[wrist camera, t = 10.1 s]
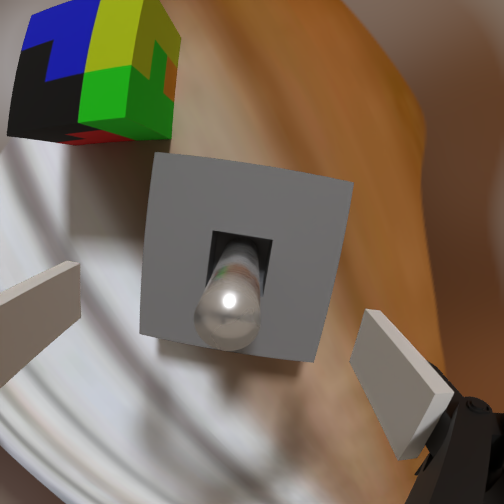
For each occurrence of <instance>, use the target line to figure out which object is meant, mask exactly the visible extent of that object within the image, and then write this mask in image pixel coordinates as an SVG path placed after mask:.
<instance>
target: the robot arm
mask: <svg viewBox="0 0 504 504" xmlns="http://www.w3.org/2000/svg"><path fill="white" fill-rule="evenodd" d="M80 318H81V303H80V263H76V262H71V261H65V262H63V263H61V264H59V265H57V266H55V267H52V268H50V269H48V270H46V271H44V272H42V273H40V274H38V275H35V276H33V277H31V278H29V279H27V280H25V281H23V282H21V283H19V284H17V285H15V286H13V287H11V288H9V289H7V290H5V291H3V292H1V293H0V388H1V387H3V386H4V385H5V384H6V383H7V382H8V381H9V380H10V379H11V378H12V377H13V376H14V375H15V374H17V373H18V372H19V371H20V370H21V369H22V368H23V367H24V366H25V365H27V364H28V363H29V362H30V361H31V360H32V359H33V358H34V357H36V356H37V355H38V354H39V353H40V352H41V351H42V350H43V349H45V348H46V347H47V346H48V345H49V344H50V343H51V342H53V341H54V340H55V339H56V338H57V337H58V336H60V335H61V334H62V333H63V332H64V331H65V330H67V329H68V328H69V327H70V326H71V325H73V324H74V323H75V322H76V321H77V320H79V319H80ZM349 362H350V364H351V366H352V368H353V370H354V372H355V374H356V376H357V378H358V380H359V382H360V384H361V386H362V387H363V389H364V391H365V393H366V395H367V397H368V400H369V402H370V404H371V406H372V408H373V410H374V412H375V414H376V416H377V418H378V420H379V422H380V424H381V426H382V428H383V430H384V432H385V434H386V436H387V438H388V440H389V443H390V445H391V447H392V449H393V451H394V453H395V455H396V457H397V459H398V461H399V460H406V459H413V458H417V457H418V456H419V454H420V453H421V451H422V449H423V448H424V446H425V445H426V447H427V448H428V450H429V452H430V453H429V454H428V456H427V457H426V459H425V460H424V462H423V463H422V465H421V466H420V467H419V469H418V470H417V472H416V473H415V474H414V475H418V474H419V475H418V477H417V479H416V481H415V484H414V486H413V488H412V490H411V492H410V494H409V496H408V498H407V500H406V502H405V504H504V413H493V412H492V409H491V407H490V406H489V405H488V404H487V403H486V402H484V401H483V400H480V399H478V398H475V397H463V396H462V395H461V394H460V393H459V391H458V390H457V389H456V388H455V387H454V386H453V385H452V384H451V382H449V381H448V379H447V378H446V377H445V376H444V375H443V373H442V372H441V371H440V370H439V369H438V368H437V367H436V366H434V365H433V364H431V363H430V362H428V361H427V360H425V359H424V357H423V356H422V355H421V354H420V353H419V352H418V351H417V350H416V349H415V348H414V346H413V345H412V344H411V343H410V342H409V341H408V340H407V339H406V338H405V337H404V336H403V334H402V333H401V332H400V331H399V330H398V329H397V328H396V327H395V326H394V325H393V324H392V323H391V322H390V321H389V319H388V318H387V317H386V316H385V315H384V314H383V313H382V312H381V311H380V310H371V309H365V312H364V315H363V319H362V322H361V326H360V329H359V332H358V336H357V339H356V342H355V345H354V349H353V352H352V355H351V358H350V361H349Z"/></svg>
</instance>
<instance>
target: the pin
mask: <svg viewBox="0 0 504 504" xmlns="http://www.w3.org/2000/svg"><path fill="white" fill-rule="evenodd" d="M260 323H261V322H260V283H259V252H258V248H257V246H256V244H255V243H254V242H253V241H252V240H250V239H248V238H245V237H238V238H234V239H232V240H231V241H230V242H229V243H228V244H227V245H226V247H225V249H224V251H223V253H222V255H221V257H220V259H219V261H218V263H217V265H216V267H215V270H214V272H213V274H212V276H211V278H210V280H209V282H208V284H207V286H206V288H205V290H204V292H203V294H202V297H201V299H200V301H199V303H198V305H197V307H196V309H195V312H194V326H195V329H196V331H197V333H198V335H199V336H200V338H201V339H202V340H203V341H204V342H205V343H206V344H208V345H209V346H211V347H213V348H216V349H219V350H223V351H234V350H239V349H241V348H244V347H246V346H247V345H249V344H250V343H251V342H252V341H253V340H254V339H255V338H256V336H257V335H258V332H259V329H260Z"/></svg>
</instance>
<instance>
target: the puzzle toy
mask: <svg viewBox="0 0 504 504" xmlns="http://www.w3.org/2000/svg"><path fill="white" fill-rule="evenodd" d="M180 43H181V37H180V35H179V33H178V31H177V30H176V28H175V26H174V24H173V23H172V21H171V19H170V18H169V16H168V14H167V12H166V11H165V9H164V7H163V6H162V4H161V2H160V1H159V0H72V1H68V2H66V3H63V4H60V5H57V6H54V7H52V8H49V9H46V10H44V11H41V12H39V13H36V14H34V15H32V16H31V19H30V22H29V25H28V28H27V32H26V35H25V39H24V42H23V46H22V50H21V54H20V58H19V62H18V67H17V71H16V76H15V82H14V87H13V92H12V98H11V105H10V112H9V120H8V129H7V136H10V137H19V138H27V139H34V140H42V141H49V142H56V143H62V144H69V145H84V144H95V143H107V142H120V141H137V140H160V139H171V137H172V122H173V109H174V98H175V87H176V77H177V68H178V59H179V51H180Z"/></svg>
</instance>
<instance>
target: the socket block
mask: <svg viewBox="0 0 504 504" xmlns="http://www.w3.org/2000/svg"><path fill="white" fill-rule="evenodd" d="M353 185H354V183H353V182H348V181H344V180H339V179H334V178H329V177H324V176H319V175H314V174H309V173H304V172H298V171H293V170H287V169H281V168H276V167H270V166H263V165H257V164H251V163H244V162H237V161H230V160H223V159H215V158H207V157H199V156H190V155H181V154H171V153H161V152H155V156H154V162H153V169H152V176H151V184H150V191H149V199H148V208H147V217H146V227H145V238H144V249H143V263H142V279H141V299H140V334H142V335H147V336H151V337H155V338H160V339H165V340H169V341H174V342H179V343H184V344H189V345H195V346H200V347H205V348H211V349H216V348H213V347H211V346H209V345H208V344H206V343H205V342H204V341H203V340H202V339H201V338H200V336H199V335H198V333H197V331H196V329H195V326H194V312H195V309H196V307H197V305H198V303H199V301H200V299H201V297H202V294H203V292H204V290H205V288H206V286H207V284H208V282H209V280H210V278H211V276H212V274H213V272H214V270H215V267H216V265H217V263H218V261H219V259H220V257H221V255H222V253H223V251H224V249H225V247H226V245H227V244H228V243H229V242H230V241H231V240H232V239H234V238H238V237H245V238H248V239H250V240H252V241H253V242H254V243H255V244H256V246H257V248H258V252H259V283H260V322H261V323H260V329H259V332H258V335H257V336H256V338H255V339H254V340H253V341H252V342H251V343H250V344H249V345H247V346H246V347H244V348H241V349H239V350H234V351H229V352H235V353H241V354H248V355H255V356H262V357H269V358H277V359H285V360H294V361H303V362H313V363H314V359H315V356H316V352H317V349H318V345H319V341H320V338H321V334H322V330H323V326H324V322H325V319H326V315H327V311H328V307H329V303H330V298H331V294H332V290H333V286H334V281H335V277H336V273H337V268H338V263H339V259H340V254H341V249H342V245H343V240H344V235H345V230H346V224H347V219H348V214H349V208H350V203H351V197H352V191H353ZM217 350H219V349H217Z"/></svg>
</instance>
